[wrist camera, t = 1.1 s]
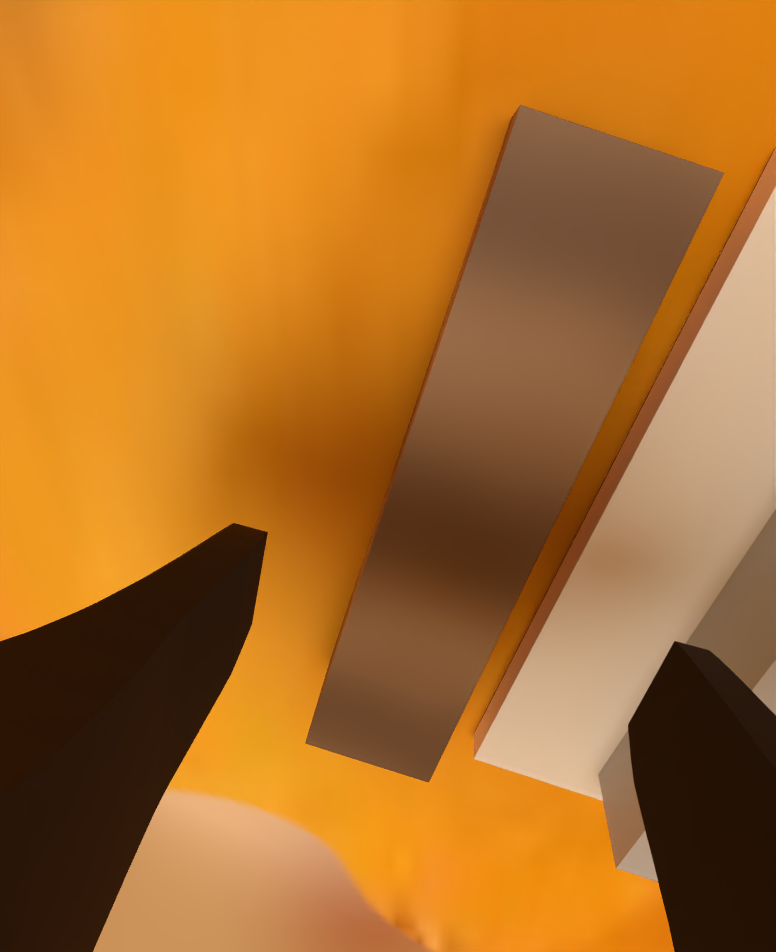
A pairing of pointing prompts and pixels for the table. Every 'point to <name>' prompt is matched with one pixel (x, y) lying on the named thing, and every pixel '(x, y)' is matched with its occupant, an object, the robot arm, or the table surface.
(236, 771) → the table surface
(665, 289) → the brown wooden bar
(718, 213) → the table surface
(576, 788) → the ridge stand
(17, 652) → the robot arm
